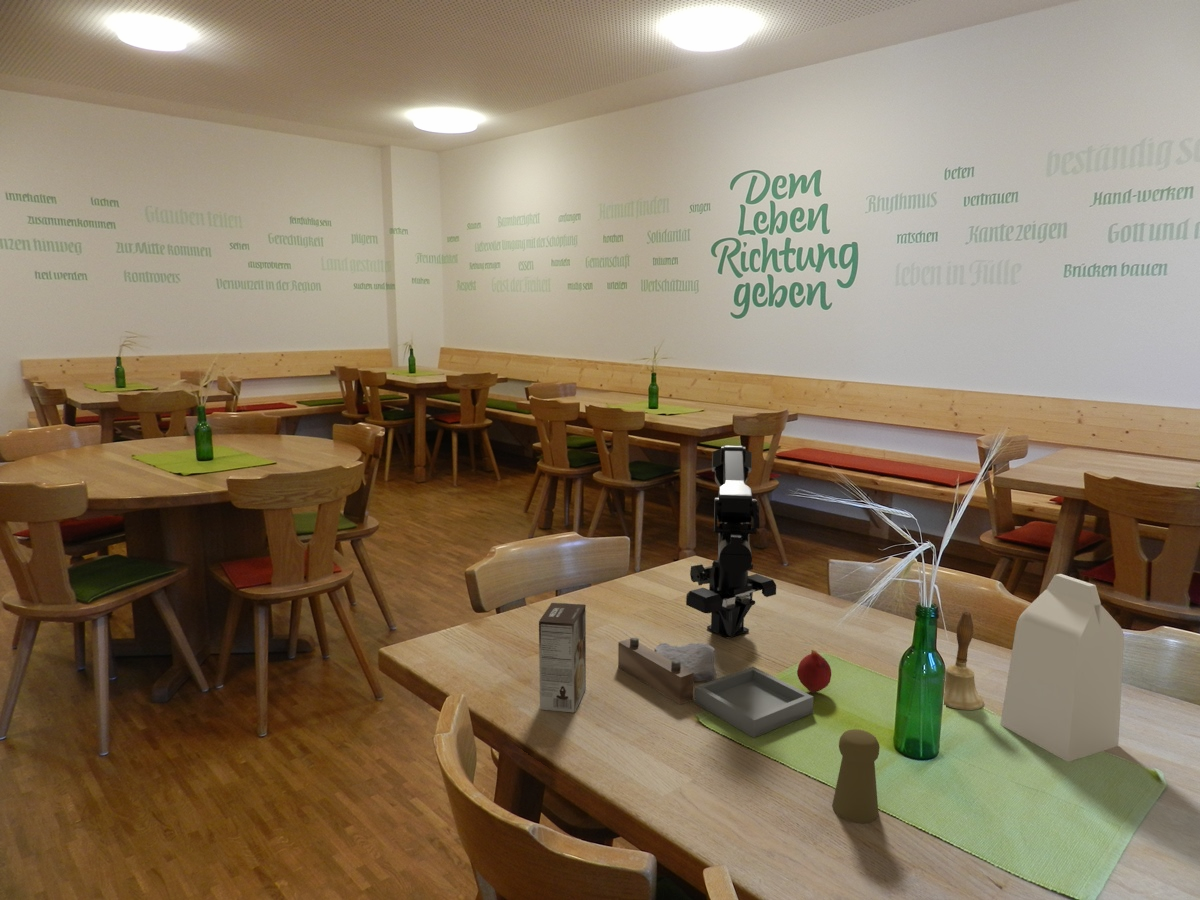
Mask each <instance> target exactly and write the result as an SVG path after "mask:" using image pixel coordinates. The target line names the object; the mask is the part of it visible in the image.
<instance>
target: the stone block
mask: <svg viewBox="0 0 1200 900" xmlns="http://www.w3.org/2000/svg"><path fill="white" fill-rule="evenodd" d="M653 651H655V652H657V653H659V654H660V655H662V656H664V657H666V658H668V659H669V660H671V661H674V660H677V661H680V662H681V666H682V667H684V668H686V669H688V670H689V671H691V672H693V673H694V682H696V683H700V682H710V681H713V680H716V677H717V671H716V668H715V659H716V649H715V648H714V647H713V646H711V645H709V644H708V643H703V642H699V643H687V644H684V645H680V646H678V645H672V644H669V643H667V642H663V643H659V644H658V645H656V647H655V648H654V650H653Z"/></svg>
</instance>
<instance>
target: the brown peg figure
mask: <svg viewBox="0 0 1200 900" xmlns="http://www.w3.org/2000/svg"><path fill="white" fill-rule="evenodd" d="M838 748H839V752H840V754H841V755H840V756H842V757H841V762H840V766H839V771H838V775H837V780H836V785H835V791H834V795H833V800H832V805H831V806H832V810H833V812H834V813H835V814H836V815H837V816H839V817H840V818H842V819H844V820H846V821H849V822H853V823H856V824H857V823H858V824H867V823H872V822H874V821H876V819H877V818H878V817H879V805H878V803H879V802H878V791H877V790H878V789H877V779H876V778H877V777H876V776H877V775H876V765H875V761H877V759H878V758H879V755H880V743H879V741H878V739H877V737H876V736H875V735H874V734H872V733H871V732H868V731H866V730H863V729H855V728H854V729H848V730H845V731H844V732H843V733H842V734H841V736H840V737H839V742H838Z"/></svg>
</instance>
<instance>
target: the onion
mask: <svg viewBox="0 0 1200 900" xmlns="http://www.w3.org/2000/svg"><path fill="white" fill-rule="evenodd" d="M796 671H797V672H796V674H797V678H798V680H799V682H800V683H801V685H803V687H805V688H806V690H808V692H809V693H812V694H815V693H818V692H820V691H822V690H824V689H825V688H826V687H828V686H829V684H830V683H831V680H832V679H831V678H832V669H831V666H830V664H829V662H828V660H826V658H824V657H823V656H822V655H821V654H820V653H818V652H817V650H816V649H814V648H813V649H811V653H810V654H808V655H806V656H804V657H803V658H802V659H801V661H800V662H799V663H798V667H797V670H796Z"/></svg>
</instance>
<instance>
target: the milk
mask: <svg viewBox="0 0 1200 900" xmlns="http://www.w3.org/2000/svg"><path fill="white" fill-rule="evenodd" d="M1124 647H1125V633H1124V630H1123V629H1122V627H1121V625H1120V624H1119V623H1118V622H1117V621H1116V620H1115V618H1114V617H1113V616H1112V615H1111V614H1110V612H1108V611H1107V610H1106V608H1105V607H1104V606H1103V605H1102V601H1101V599H1100V596H1099V592H1098V588H1097V585H1096V584H1094V583H1090V582H1088V581H1084V580H1081V579H1077V578H1075V577H1071V576H1068V575H1065V574H1063V573H1057V574H1054V575H1053V577H1052V578H1051V581H1050V582H1049V584H1048V585H1047V586H1046V589H1044V591H1042V592H1041V593H1040V595H1038V596H1037V598H1035V599H1034V600H1033V601H1032V602H1031V603H1030V604H1029V606H1027V607H1026V608H1025V609H1024V610H1023V611H1022V613H1021V614H1020V615H1019V617H1018V619H1017V622H1016V625H1015V631H1014V638H1013V645H1012V650H1011V654H1010V655H1011V657H1010V662H1009V667H1008V668H1009V669H1008V675H1007V681H1006V687H1005V692H1004V700H1003V705H1002V710H1001V718H1000V721H999V722H1000V726H1001V727H1004V728H1005V729H1007V730H1009V731H1011V732H1013V733H1015V734H1017V735H1018V736H1020V737H1022V738H1024V739H1025V740H1027V741H1029V742H1031V743H1033V744H1034V745H1036V746H1038V747H1040V748H1041V749H1043V750H1046V751H1047V752H1048V753H1051V754H1053V755H1055V756H1056V757H1057V758H1060V759H1062V760H1063V761H1065V762H1066V763H1067V762H1071V761H1075V760H1077V759H1078V760H1079V759H1080V758H1084V757H1088V756H1090V755H1094V754H1098V753H1100V752H1103V751H1106V750H1111V749H1113V748H1117V747H1119V743H1120V742H1119V740H1120V739H1119V738H1120V723H1121V722H1120V720H1121V703H1122V702H1121V701H1122V688H1123V687H1122V683H1123V668H1124V667H1123V666H1124V649H1125V648H1124Z"/></svg>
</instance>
